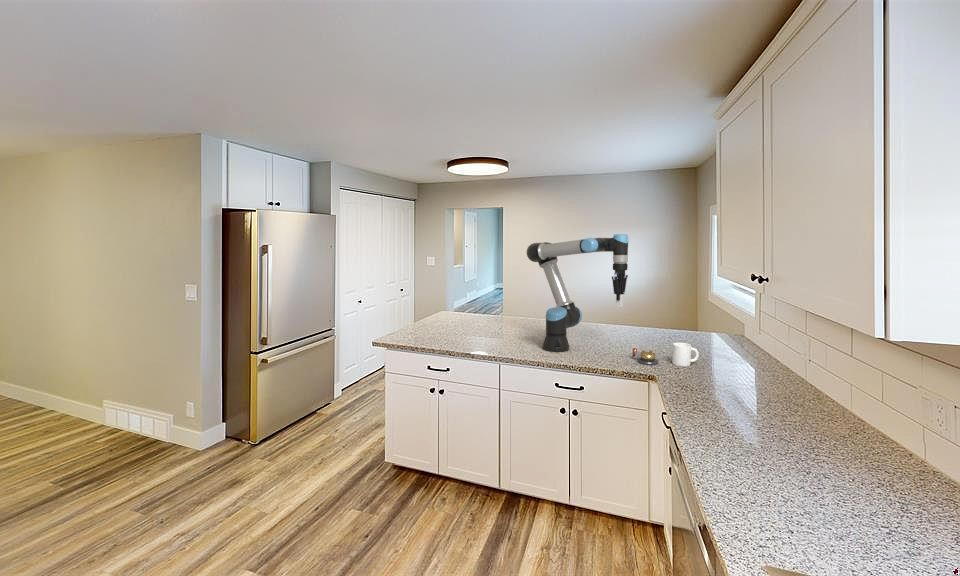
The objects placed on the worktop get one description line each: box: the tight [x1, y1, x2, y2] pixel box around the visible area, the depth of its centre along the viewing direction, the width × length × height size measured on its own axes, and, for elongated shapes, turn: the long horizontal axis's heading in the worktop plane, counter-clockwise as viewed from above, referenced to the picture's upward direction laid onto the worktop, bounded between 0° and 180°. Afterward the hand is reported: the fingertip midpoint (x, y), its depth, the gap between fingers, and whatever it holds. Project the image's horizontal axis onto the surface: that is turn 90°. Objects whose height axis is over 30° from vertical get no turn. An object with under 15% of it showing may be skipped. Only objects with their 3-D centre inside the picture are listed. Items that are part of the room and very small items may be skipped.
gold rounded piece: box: [631, 347, 656, 361], centre depth 215 cm, size 12×7×4 cm, turn 37°
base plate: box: [636, 357, 659, 366], centre depth 213 cm, size 10×10×1 cm
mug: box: [671, 342, 700, 368], centre depth 208 cm, size 12×8×10 cm
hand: (619, 306), depth 227 cm, fingers closed
